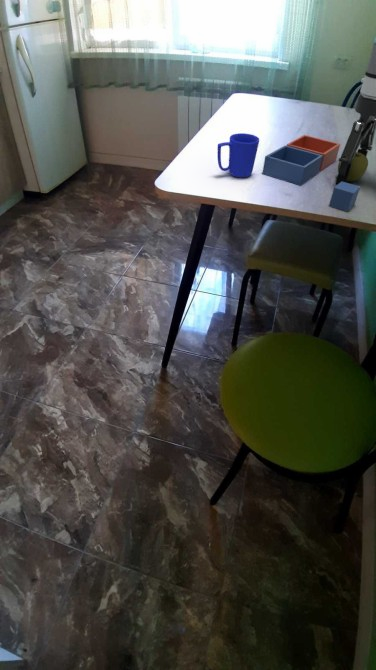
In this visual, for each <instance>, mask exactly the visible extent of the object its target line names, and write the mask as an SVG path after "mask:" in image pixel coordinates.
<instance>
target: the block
mask: <svg viewBox="0 0 376 670" xmlns="http://www.w3.org/2000/svg"><path fill="white" fill-rule="evenodd" d="M360 190H361V186H359V185H356V184H352V183H349V182H346V183H345V182H340V183H339V184H338V185H334V187H333V190H332V194H331V197H330V201H329V204H328V206H329V207H331V208H334V209H337V210H341V211H343V212H347V213H348V212H349V211H350V210H351V209H352V208H353V207H354V206H355V204H356V201H357V199H358V195H359V192H360Z"/></svg>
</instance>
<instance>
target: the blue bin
mask: <svg viewBox="0 0 376 670" xmlns="http://www.w3.org/2000/svg"><path fill="white" fill-rule="evenodd" d="M322 157H323V155H319V154H316V153H312V152H308V151H304V150H301V149H297V148H293V147H290V146H287V144H285V145H283V146H281V147H279V148H278V149H276V150H273V151H272V152H270V153H269V154H266V155H265V156H264V162H263V167H262V173H261V174H262V175H265V176H268V177H271V178H274V179H278V180H281V181H284V182H287V183H290V184H294V185H297V186H302V185H304V184H305V183H307V182H308V181H309V180H311V179H312V178H313V177H315V176H317V175H318V174H319V173H320V172H319V169H320V165H321V161H322Z"/></svg>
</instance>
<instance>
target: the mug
mask: <svg viewBox="0 0 376 670" xmlns="http://www.w3.org/2000/svg"><path fill="white" fill-rule="evenodd" d="M259 143H260V138H259V136H257V135H255V134H251V133H244V132H243V133H242V132H239V133H233V134H231V135H230V136H229V141H225V142H219V143H218V144H217V164H218V168H219V169H220V171H222V172H227V171H228V172H229V173H230V175H232V176H233V177H237V178H247V177H250V176H251V175H252V173H253V171H254V166H255V162H256V157H257V153H258V149H259ZM226 146H228V149H229V151H228V165H227V167H223V165H222V147H226Z"/></svg>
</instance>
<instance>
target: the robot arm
mask: <svg viewBox="0 0 376 670" xmlns="http://www.w3.org/2000/svg"><path fill="white" fill-rule="evenodd" d="M360 82H361V83H362V84H361V86H360V90H359V92H360V94H359V95H358V97H357V100H356V104H355V107H354V111H355V112H356V114H357V113H358V115H360V116H359V118H358V119H357V120H355V121H353V123H352V127H351V130H350V133H349V136H348V138H347V139H346V143H345V145H344V148H343V150H342V153H341V155H340V157H339V158H338V162H339V161H340V162H341V166H340V169H339V173H338V172H337V173H338V174H337V176H336V179H335V183H334V186H337V185H338V184H339V183H340V182H345V183H348V181H347V179H348V175H349V172H350V169H351V166H352V163H351V162H352V160H353V158H354V156H355V154H356V152H358V153H361V154H363V155H365V156H366V157H367V155H368V153H369V151H372V150H373V144H374V138H375V135H376V37H375V38H374V41H373V43H372V48H371V52H370V56H369V60H368V63H367V66H366V69H365V73H364V77H362V78H361V79H360ZM346 157H347V158H346Z"/></svg>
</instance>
